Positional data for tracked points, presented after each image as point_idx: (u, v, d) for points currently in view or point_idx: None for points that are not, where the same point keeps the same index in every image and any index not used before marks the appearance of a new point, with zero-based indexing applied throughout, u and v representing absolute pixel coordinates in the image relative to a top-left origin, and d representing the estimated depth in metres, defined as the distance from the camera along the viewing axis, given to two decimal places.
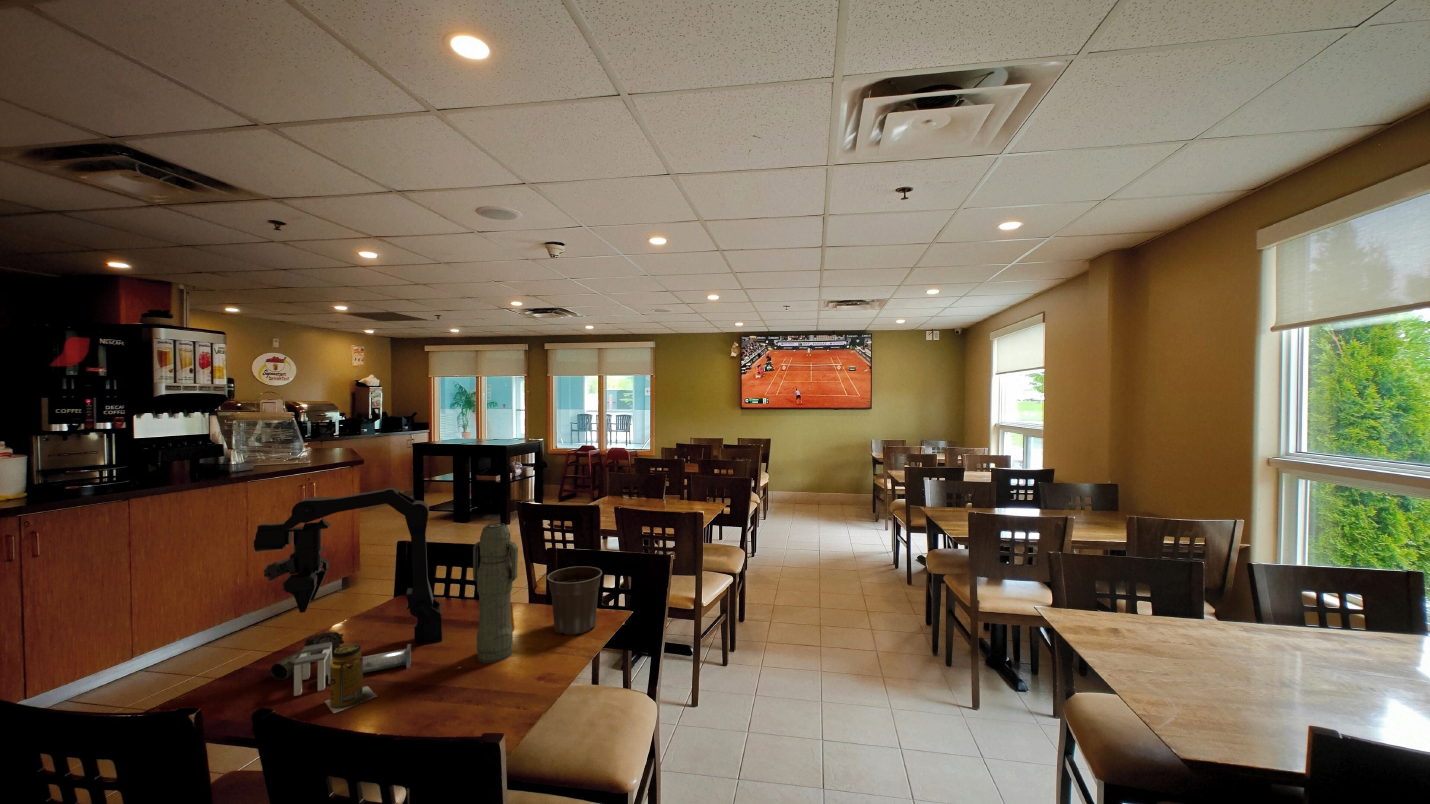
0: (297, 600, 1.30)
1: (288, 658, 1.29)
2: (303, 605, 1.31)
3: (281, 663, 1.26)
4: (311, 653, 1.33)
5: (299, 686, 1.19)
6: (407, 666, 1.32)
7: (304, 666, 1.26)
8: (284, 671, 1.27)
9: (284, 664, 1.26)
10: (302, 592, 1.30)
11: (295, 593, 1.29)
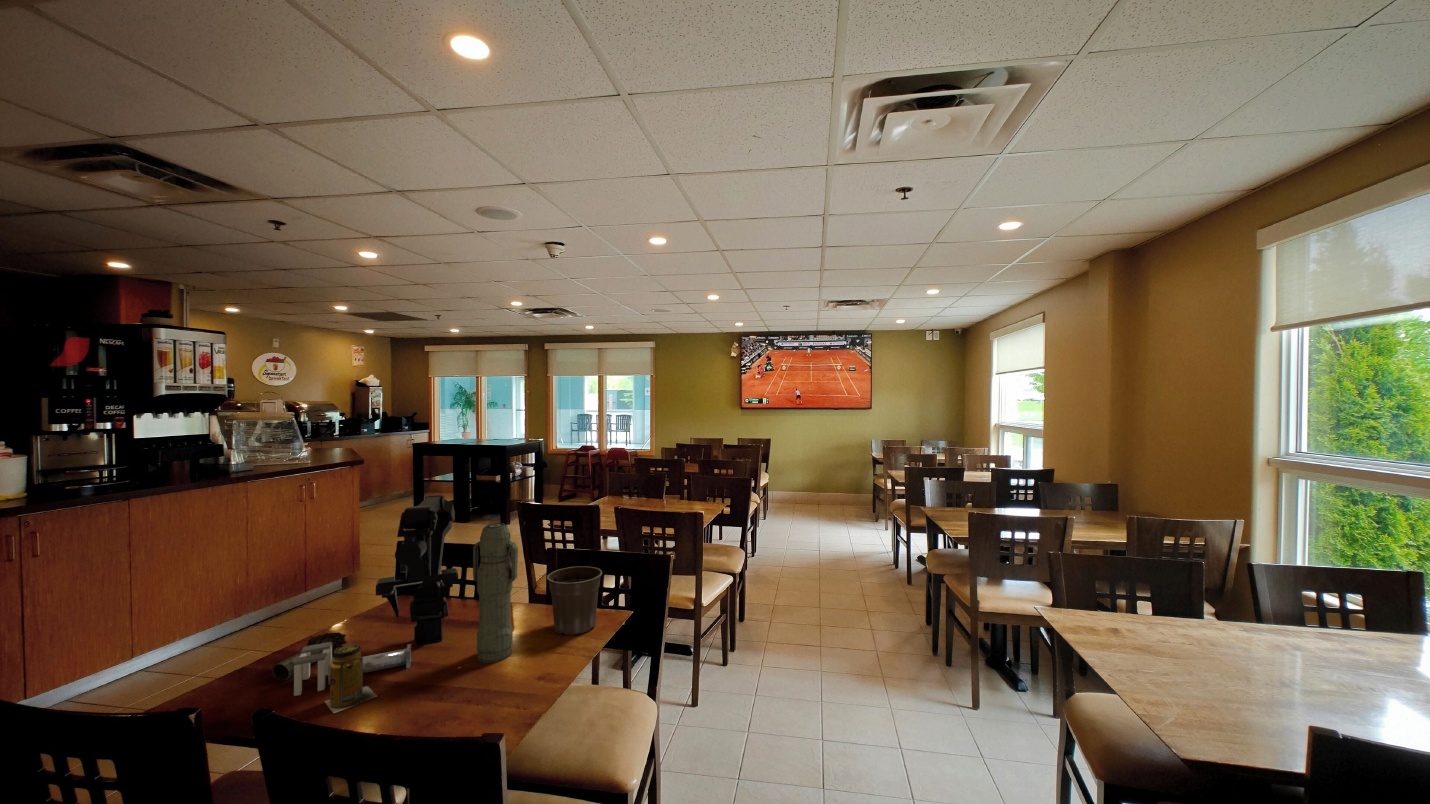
0: None
1: (290, 658, 1.28)
2: (394, 610, 1.33)
3: (283, 663, 1.26)
4: (313, 653, 1.33)
5: (299, 686, 1.19)
6: (407, 666, 1.32)
7: (304, 666, 1.26)
8: (286, 672, 1.27)
9: (286, 665, 1.26)
10: None
11: None
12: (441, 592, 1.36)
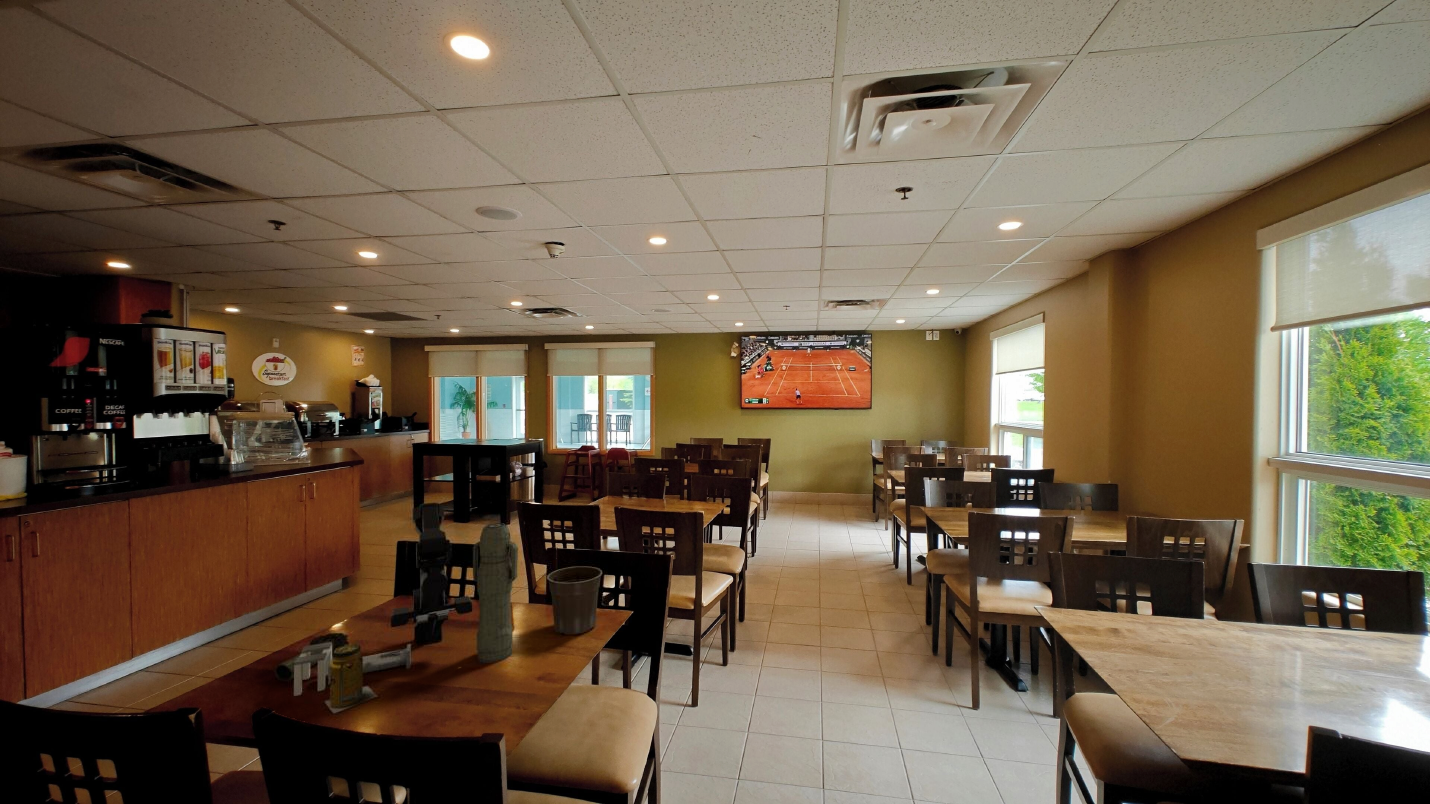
0: None
1: (292, 659, 1.28)
2: (428, 637, 1.36)
3: (285, 664, 1.26)
4: None
5: (299, 686, 1.19)
6: (407, 666, 1.32)
7: (304, 666, 1.26)
8: (288, 672, 1.27)
9: (288, 665, 1.26)
10: None
11: None
12: (437, 625, 1.35)
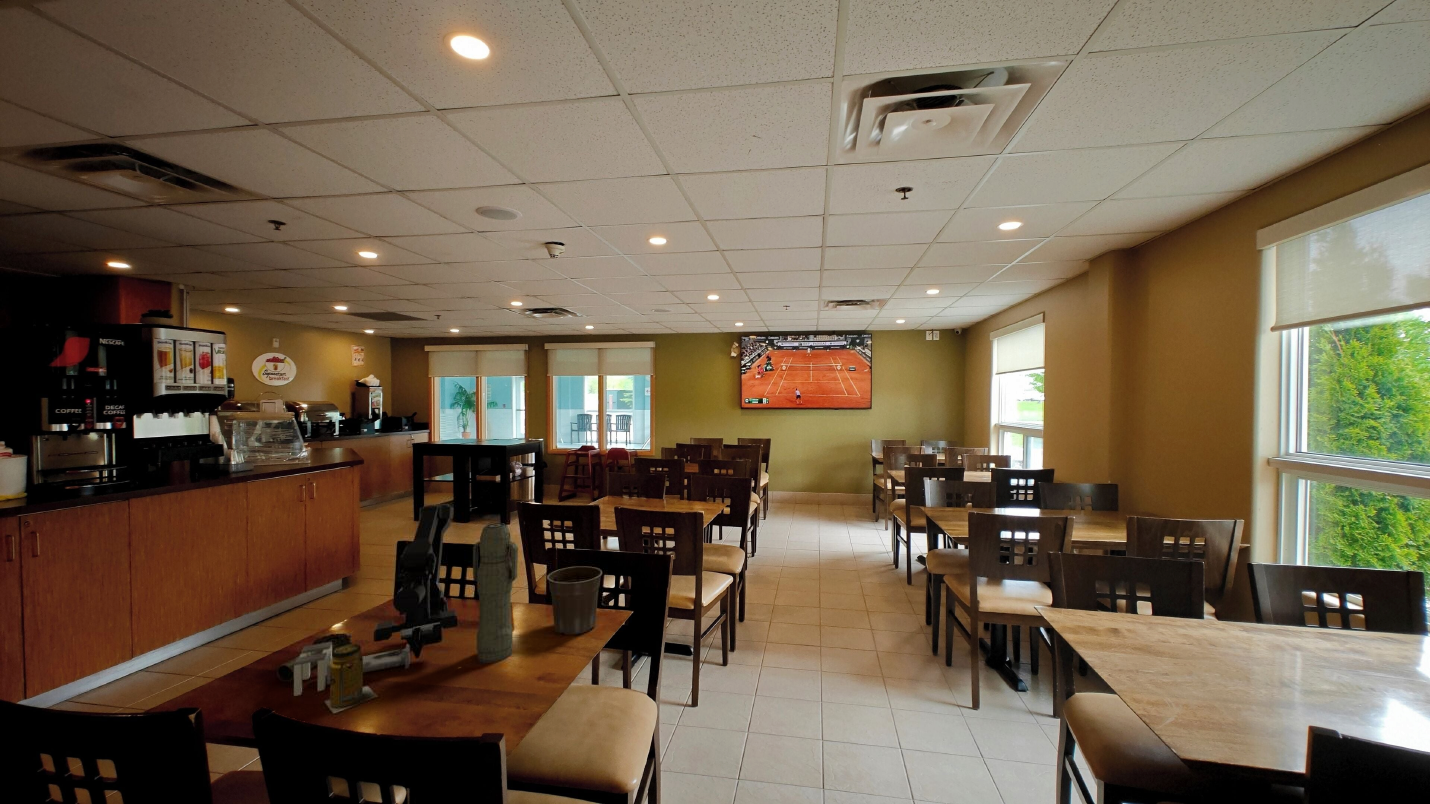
0: None
1: (295, 660, 1.28)
2: None
3: (287, 665, 1.26)
4: None
5: (299, 686, 1.19)
6: (406, 666, 1.31)
7: (304, 666, 1.26)
8: (290, 673, 1.26)
9: (290, 666, 1.26)
10: None
11: None
12: (420, 640, 1.33)
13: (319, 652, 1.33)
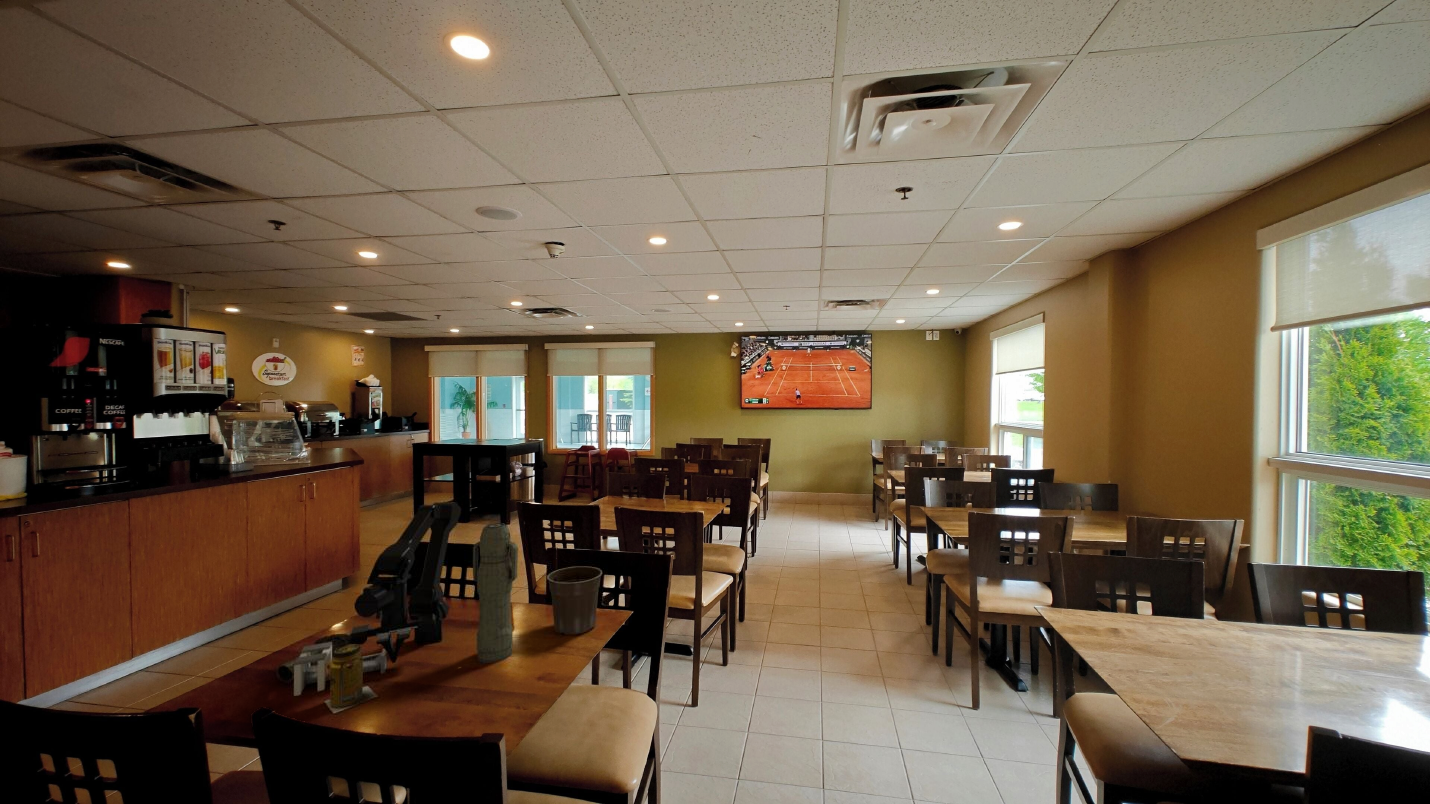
0: None
1: (294, 660, 1.28)
2: None
3: (287, 665, 1.25)
4: None
5: (299, 686, 1.19)
6: (382, 671, 1.29)
7: None
8: (290, 673, 1.26)
9: (290, 666, 1.25)
10: None
11: None
12: (397, 644, 1.30)
13: (319, 653, 1.32)
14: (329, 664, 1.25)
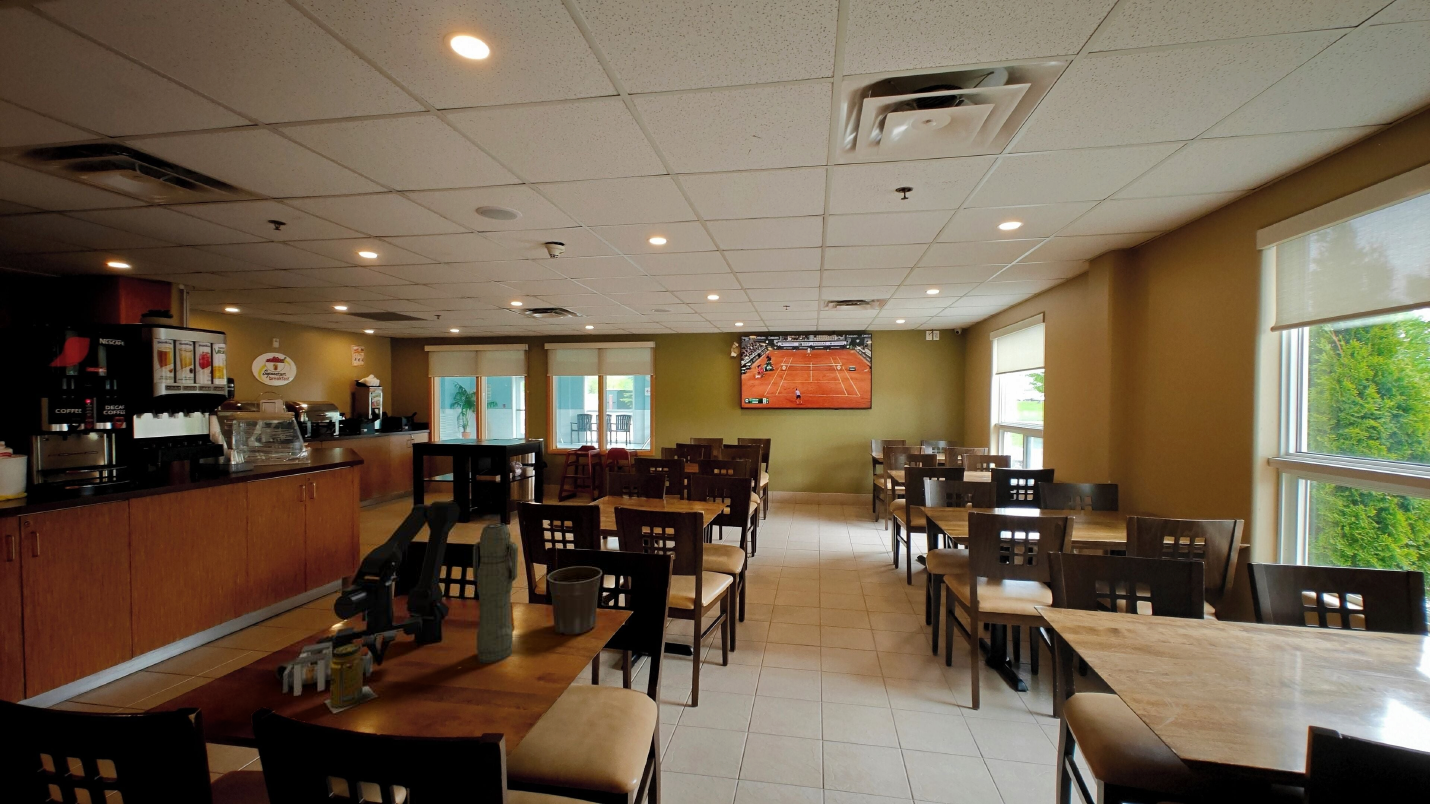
0: None
1: (294, 660, 1.27)
2: None
3: (286, 665, 1.25)
4: None
5: (299, 686, 1.19)
6: (367, 674, 1.28)
7: (304, 666, 1.26)
8: None
9: None
10: None
11: None
12: (382, 647, 1.29)
13: (319, 653, 1.32)
14: (313, 667, 1.24)
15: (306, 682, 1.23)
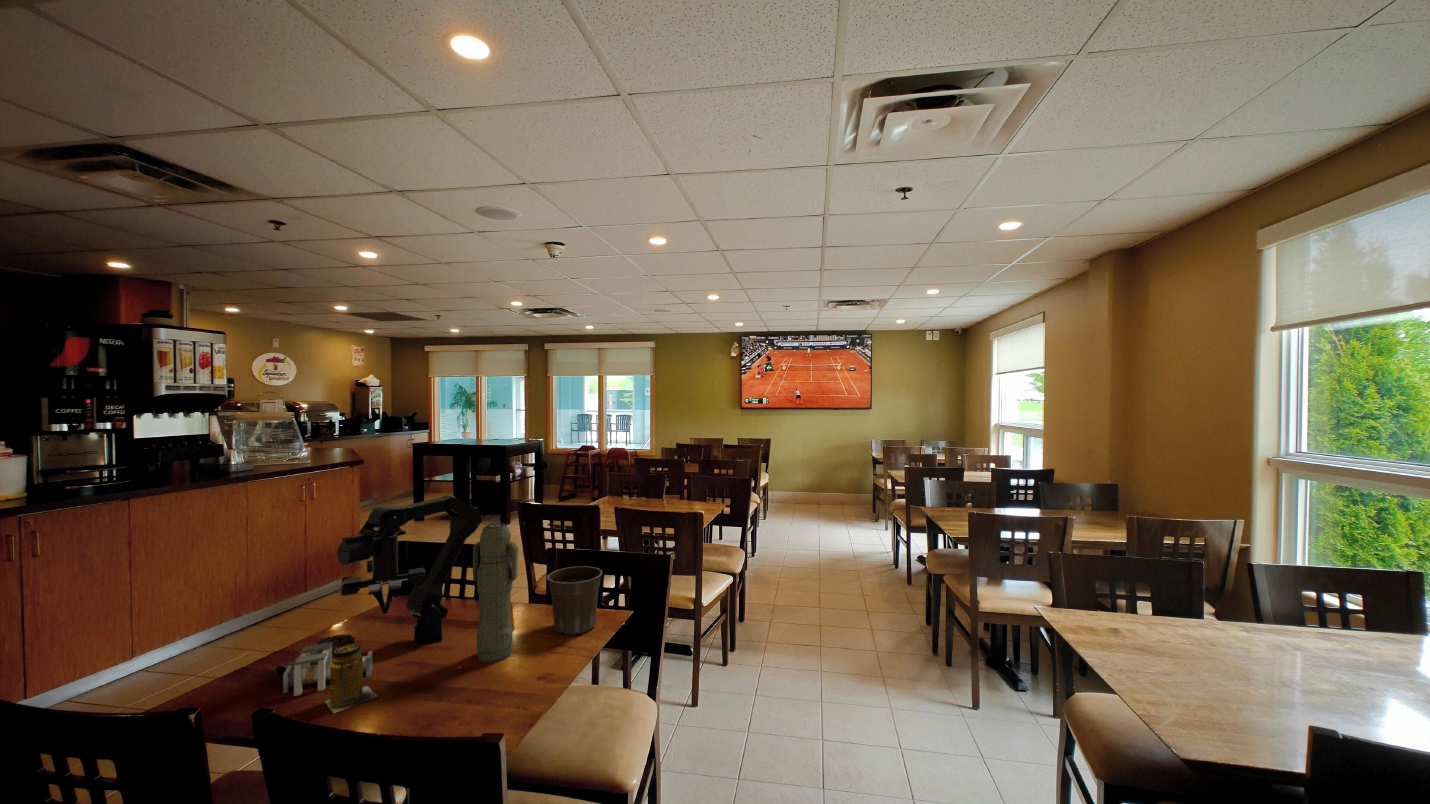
0: None
1: (293, 661, 1.27)
2: (381, 607, 1.36)
3: (284, 666, 1.25)
4: None
5: (299, 686, 1.19)
6: (367, 674, 1.28)
7: (304, 666, 1.26)
8: None
9: (287, 667, 1.25)
10: None
11: None
12: (389, 595, 1.36)
13: None
14: (313, 667, 1.24)
15: (306, 682, 1.23)
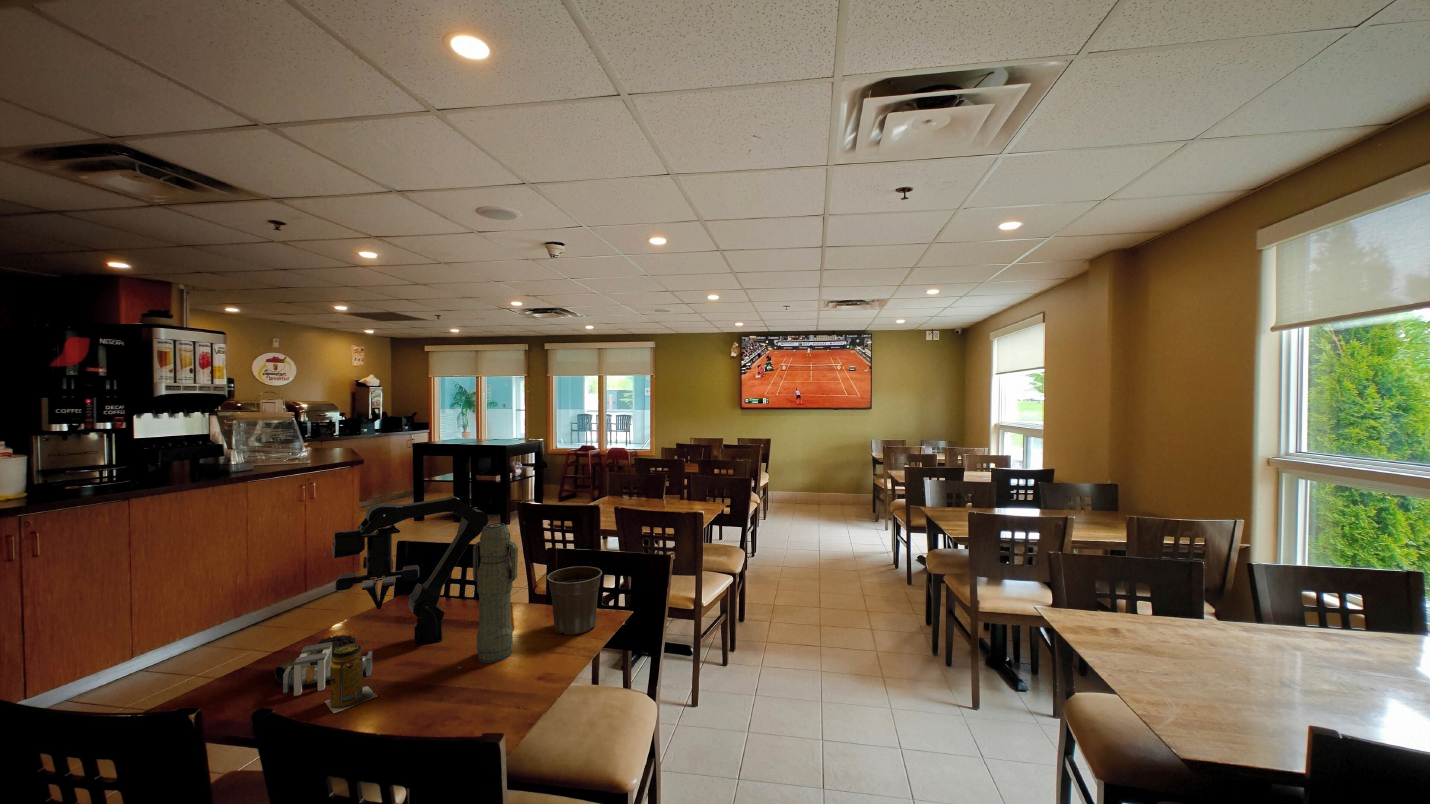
0: None
1: (292, 661, 1.27)
2: None
3: (283, 666, 1.25)
4: None
5: (299, 686, 1.19)
6: (367, 674, 1.28)
7: (304, 666, 1.26)
8: None
9: (285, 667, 1.25)
10: None
11: None
12: (382, 591, 1.38)
13: None
14: (313, 667, 1.24)
15: (306, 682, 1.23)
